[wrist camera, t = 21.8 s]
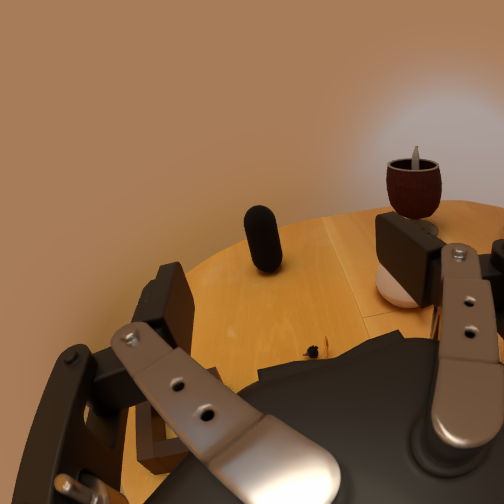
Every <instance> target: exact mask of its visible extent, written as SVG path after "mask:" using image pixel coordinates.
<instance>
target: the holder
mask: <svg viewBox="0 0 504 504" xmlns="http://www.w3.org/2000/svg"><path fill="white" fill-rule="evenodd" d="M206 370H207V371H208V372H209V373H211V374H212V375H213V376H214V377H215V378H217V379H218V380H219V381H220V382H222V383H223V381H222V379H221V377H220V375H219V373H218V371H217V369H216V367H213V368H210V369H206ZM136 449H137V461H138V462H139V463H140V464H142V465H143V466H144V467H145V468H147V469H148V470H149V471H150V472H152V473H153V474H162V473H168V472H171V471H172V470H173V469H174V468H175V467H176V465H177V464H178V463H179V462H180V461H181V459H182V458H183V457H184V456H185V454H186V453H187V452H188V451H189V449H188V448H187V446H186V445H185V444H184V443H183V442H182V441H181V440H180V439H179V437H177V438H172V439H168V440H166V432H165V423H164V420H163V418H162V417H161V416H160V415H159V413H158V412H157V411H156V410H155V408H154V407H153V406H152V404H151V403H150V402H149V400H148V401H145V402H143V403H140V404H137V405H136Z"/></svg>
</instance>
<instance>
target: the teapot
mask: <svg viewBox="0 0 504 504" xmlns="http://www.w3.org/2000/svg"><path fill="white" fill-rule="evenodd" d="M375 283H376V286H377V289H378V291H379V293H380V294H381V295H382V296H383V297H384V298H385V299H386V300H387V301H388V302H390V303H391V304H393V305H395V306H398V307H401V308H405V309H406V308H416V307H419V306H418V305H417V303H416V302H415V301H414V300H413V299H412V298H411V297H410V295H409V294H408V293H407V292H406V291H405V290H404V289H403V288H402V286H401V285H400V284H399V283H398V282H397V281H396V280H395V279H394V278H393V277H392V275H391V274H390V273H389V272H388V271H387V270H386V269H385V268H384V267H383V266H382V265H381V263H380V264H379V267H378V269H377V272H376V277H375Z"/></svg>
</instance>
